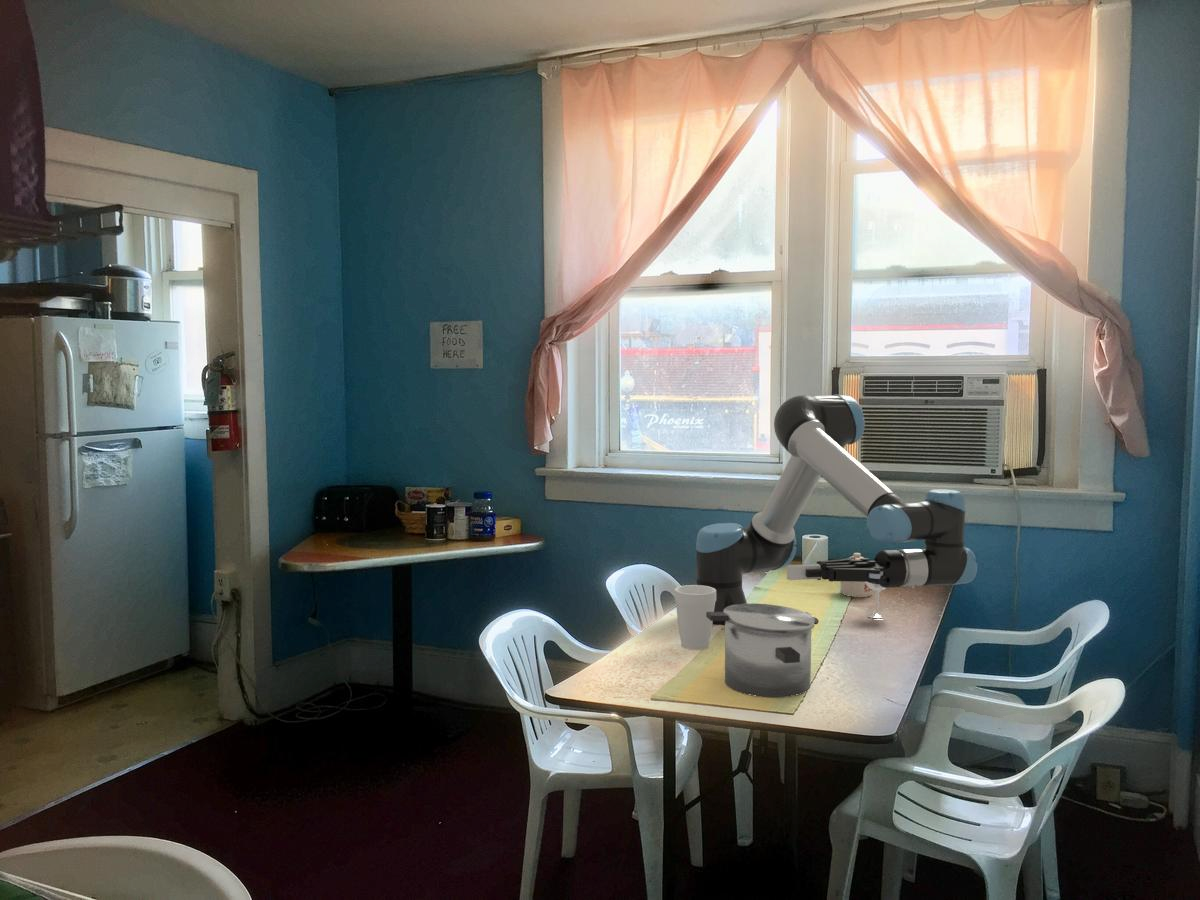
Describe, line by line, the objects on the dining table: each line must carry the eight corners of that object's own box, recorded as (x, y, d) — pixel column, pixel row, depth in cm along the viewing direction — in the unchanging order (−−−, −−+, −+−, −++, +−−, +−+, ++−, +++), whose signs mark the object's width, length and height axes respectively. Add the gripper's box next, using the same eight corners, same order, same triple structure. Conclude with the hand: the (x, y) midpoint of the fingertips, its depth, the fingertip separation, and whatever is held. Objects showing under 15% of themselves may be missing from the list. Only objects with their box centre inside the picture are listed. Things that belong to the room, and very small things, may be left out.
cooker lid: (796, 609, 196) (796, 604, 196) (832, 633, 178) (832, 627, 178) (695, 608, 192) (696, 602, 192) (722, 632, 175) (722, 625, 174)
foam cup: (682, 653, 206) (683, 595, 205) (668, 641, 215) (668, 586, 214) (722, 649, 209) (722, 593, 208) (706, 638, 218) (707, 584, 217)
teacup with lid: (871, 599, 255) (872, 557, 254) (837, 596, 258) (838, 555, 257) (875, 589, 266) (876, 549, 265) (843, 587, 269) (843, 547, 268)
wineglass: (869, 611, 241) (870, 566, 240) (894, 616, 237) (895, 569, 236) (858, 617, 236) (859, 570, 235) (884, 621, 232) (885, 574, 231)
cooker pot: (783, 660, 201) (784, 606, 200) (834, 702, 175) (835, 640, 174) (707, 664, 198) (708, 609, 197) (748, 708, 172) (748, 645, 171)
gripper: (914, 594, 182) (799, 598, 178) (884, 579, 195) (776, 583, 191) (915, 556, 181) (800, 560, 178) (884, 544, 194) (777, 547, 190)
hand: (788, 572), depth 184 cm, fingers closed
